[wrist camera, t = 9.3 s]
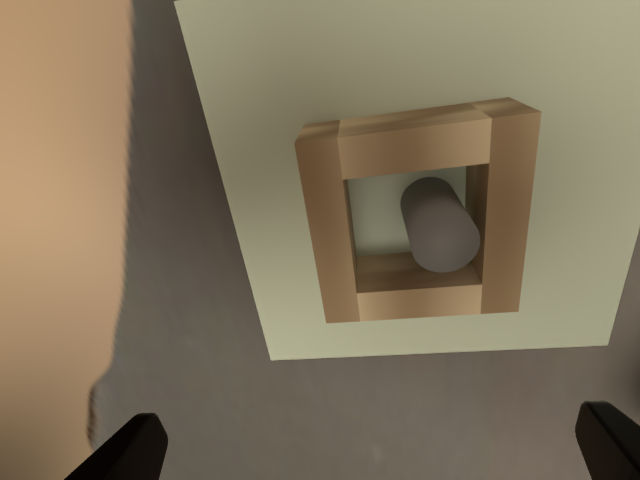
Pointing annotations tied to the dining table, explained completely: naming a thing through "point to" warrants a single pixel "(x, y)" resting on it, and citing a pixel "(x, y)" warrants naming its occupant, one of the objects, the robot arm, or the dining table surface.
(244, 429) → the dining table surface
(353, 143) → the square wooden frame
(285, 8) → the pale green base plate
